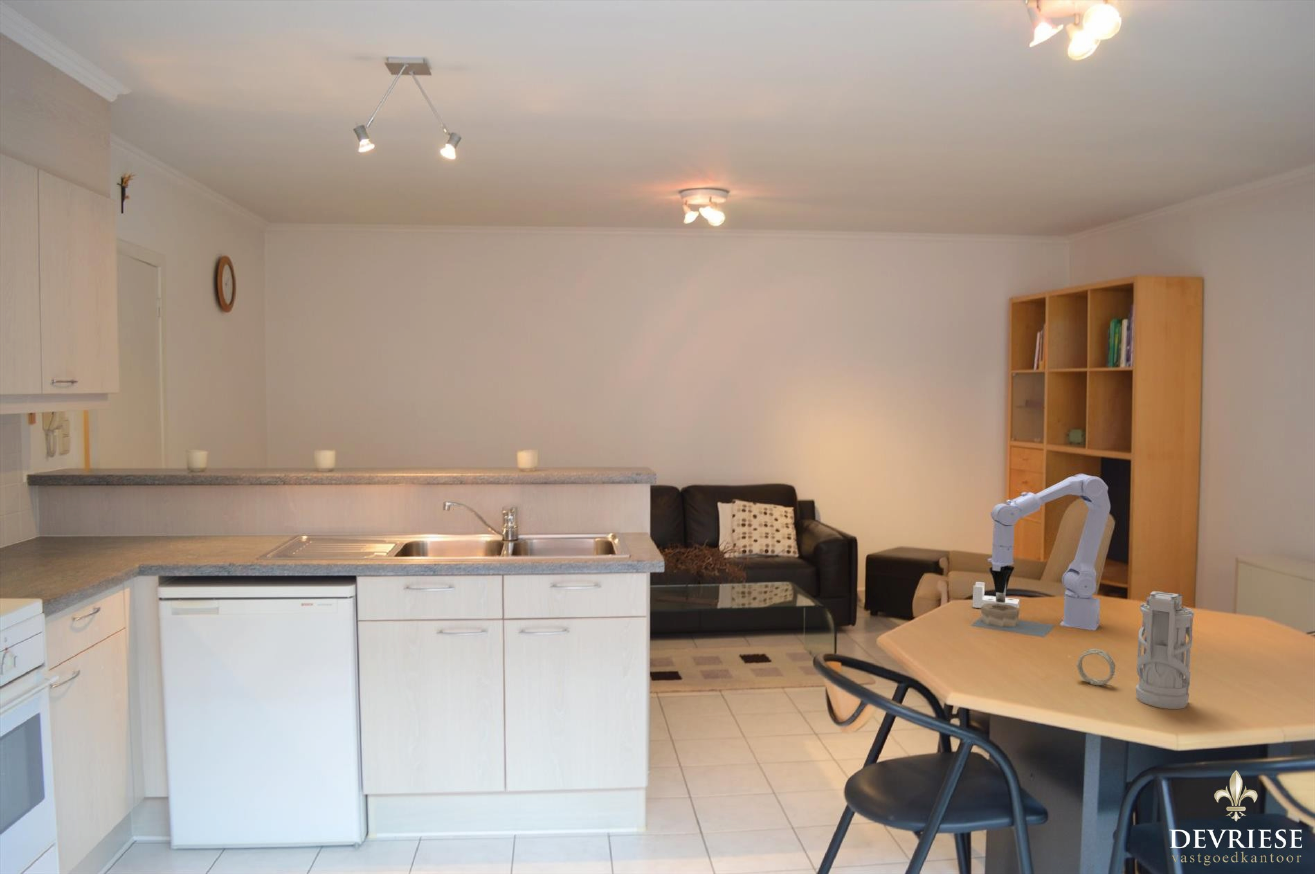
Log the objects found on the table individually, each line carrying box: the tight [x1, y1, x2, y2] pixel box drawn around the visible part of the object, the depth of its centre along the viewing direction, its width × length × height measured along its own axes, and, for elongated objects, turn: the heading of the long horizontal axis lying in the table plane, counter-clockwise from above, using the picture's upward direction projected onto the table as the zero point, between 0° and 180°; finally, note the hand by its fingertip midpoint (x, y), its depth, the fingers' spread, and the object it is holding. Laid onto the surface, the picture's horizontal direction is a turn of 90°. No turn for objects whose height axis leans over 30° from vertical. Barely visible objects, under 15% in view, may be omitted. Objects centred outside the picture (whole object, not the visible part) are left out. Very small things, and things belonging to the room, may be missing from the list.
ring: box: [980, 603, 1020, 627], centre depth 275 cm, size 10×10×4 cm
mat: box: [970, 617, 1056, 638], centre depth 272 cm, size 20×16×1 cm
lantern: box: [1135, 590, 1195, 710], centre depth 207 cm, size 13×10×25 cm
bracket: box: [972, 581, 1020, 609], centre depth 293 cm, size 13×7×8 cm, turn 65°
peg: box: [995, 585, 1007, 603], centre depth 274 cm, size 3×3×8 cm
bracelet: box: [1076, 648, 1116, 686], centre depth 220 cm, size 4×8×8 cm, turn 54°
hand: (1000, 591), depth 275 cm, fingers closed on peg, 3 cm apart
